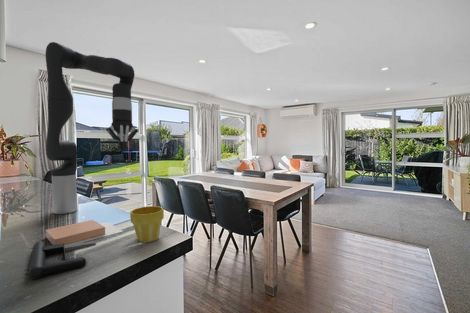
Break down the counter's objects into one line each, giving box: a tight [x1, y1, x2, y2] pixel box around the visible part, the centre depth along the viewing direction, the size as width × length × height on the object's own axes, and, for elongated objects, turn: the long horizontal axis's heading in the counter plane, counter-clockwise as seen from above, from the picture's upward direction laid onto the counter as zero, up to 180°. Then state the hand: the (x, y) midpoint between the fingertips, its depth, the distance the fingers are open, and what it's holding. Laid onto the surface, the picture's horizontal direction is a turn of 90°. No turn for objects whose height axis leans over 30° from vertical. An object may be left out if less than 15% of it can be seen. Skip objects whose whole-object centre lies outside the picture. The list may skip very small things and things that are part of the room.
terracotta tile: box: [45, 219, 105, 245], centre depth 80 cm, size 12×2×14 cm
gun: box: [23, 240, 97, 280], centre depth 66 cm, size 3×20×16 cm
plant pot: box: [129, 205, 165, 243], centre depth 79 cm, size 10×10×10 cm
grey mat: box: [64, 221, 123, 246], centre depth 82 cm, size 15×18×1 cm
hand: (122, 150), depth 100 cm, fingers closed
